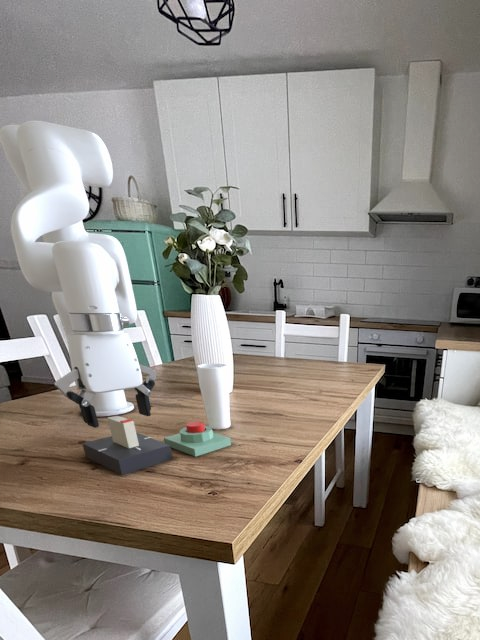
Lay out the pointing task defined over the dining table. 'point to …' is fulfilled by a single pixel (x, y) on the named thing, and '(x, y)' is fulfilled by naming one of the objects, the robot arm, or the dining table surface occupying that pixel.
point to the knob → (123, 431)
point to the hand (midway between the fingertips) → (120, 420)
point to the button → (195, 427)
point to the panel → (127, 453)
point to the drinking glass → (215, 394)
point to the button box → (197, 441)
